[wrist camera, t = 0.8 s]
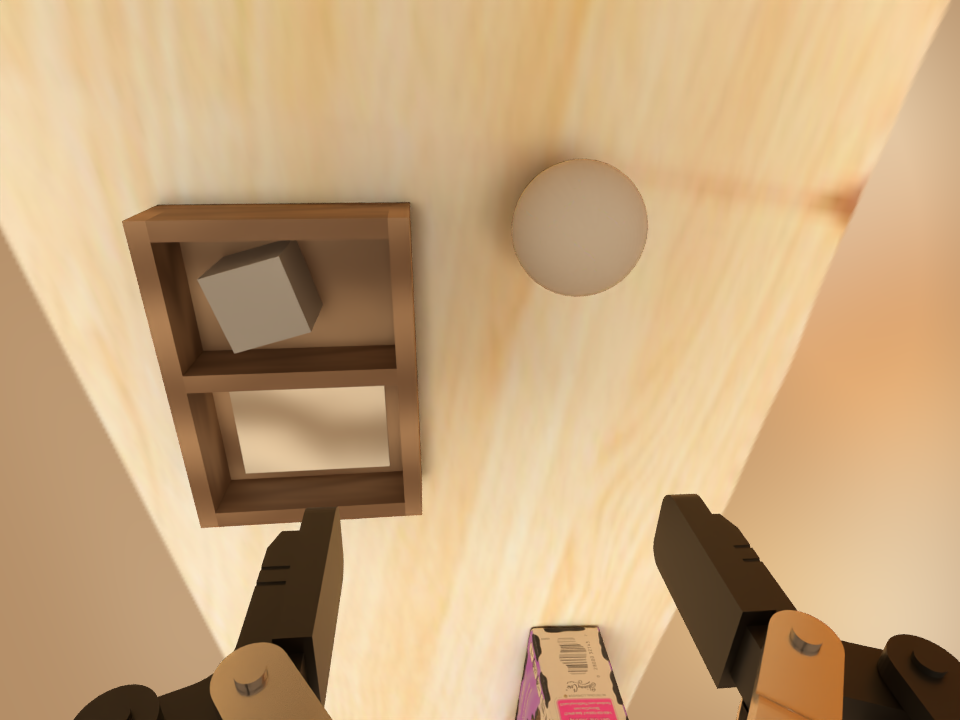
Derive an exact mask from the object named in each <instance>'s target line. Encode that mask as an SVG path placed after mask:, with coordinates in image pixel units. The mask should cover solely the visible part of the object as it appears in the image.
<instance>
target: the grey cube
mask: <svg viewBox="0 0 960 720" xmlns="http://www.w3.org/2000/svg"><path fill="white" fill-rule="evenodd" d="M197 280H198V282H199V284H200V286H201V288H202V290H203V292H204V294H205V296H206V298H207V300H208V302H209V304H210V306H211V308H212V310H213V312H214V314H215V316H216V318H217V320H218V322H219V324H220V326H221V328H222V330H223V332H224V334H225V336H226V338H227V340H228V342H229V344H230V346H231V348H232V350H233V352H234V354H235V353H239V352H242V351H246V350H249V349H253V348H257V347H260V346H264V345H267V344H271V343H274V342H278V341H281V340H285V339H289V338H292V337H296V336H299V335H303V334H306V333H310V332H311V331H312V329H313V327H314V324H315V322H316V320H317V317H318V315H319V313H320V311H321V308H322V306H323V303H322V301H321V299H320V296H319V294H318V291H317V289H316V286H315V284H314V281H313V279H312V276H311V274H310V272H309V269H308V267H307V264H306V262H305V259H304V257H303V254H302V252H301V250H300V247H299V245H298V242H297V240H281V241H277V242H273V243H270V244H266V245H263V246H259V247H256V248H252V249H249V250H245V251H241V252H238V253H234V254H231V255H227V256H224V257H222V258H221V259H220V260H219V261H218V262H216V263H215V264H214V265H213V266H212V267H211V268H210V269H209V270H207V271H206V272H205V273H204V274H203V275H202V276H201V277H199V278H198V279H197Z"/></svg>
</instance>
